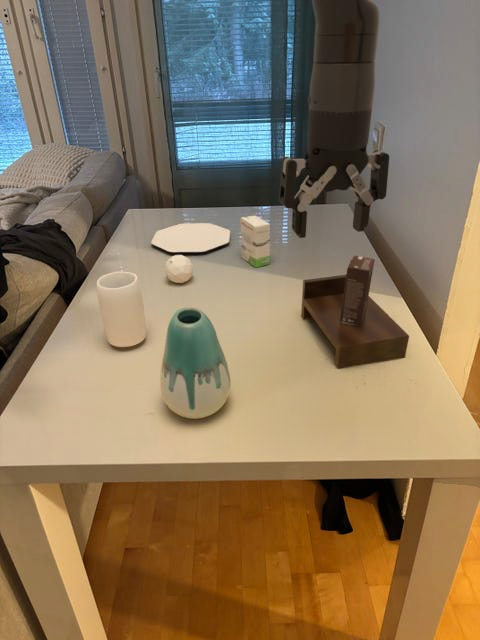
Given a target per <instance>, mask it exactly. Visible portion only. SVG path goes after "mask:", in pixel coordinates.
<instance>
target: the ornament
mask: <svg viewBox="0 0 480 640" xmlns="http://www.w3.org/2000/svg"><path fill="white" fill-rule="evenodd" d="M164 273H165V275H166V277H167V279H168V280H169V281H171V282H173V283H175V284H183V283H185V282H187V281H189V280H190V278H191V277H192V275H193V273H194V266H193V264H192V261H191V259H190V258H188V257H187V256H184V255H183V254H175V255H172V256H171V257H169V258H168V259H167V261H166V262H165V265H164Z"/></svg>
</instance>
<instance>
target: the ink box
mask: <svg viewBox="0 0 480 640" xmlns="http://www.w3.org/2000/svg"><path fill="white" fill-rule="evenodd" d="M240 242H241V243H240V245H241V247H240V251H241V253H240V255H241V258H242V259H243V260H245V262H247V263H248V264H250V265H251V266H252V267H254V268H259V267H260V268H261V267H265V266H267V265H271V223H269V222H267V221H266V220H264V219H263V218H261V217H259V216H258V215H249V216H248V215H247V216H242V217H240Z"/></svg>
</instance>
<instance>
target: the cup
mask: <svg viewBox="0 0 480 640" xmlns="http://www.w3.org/2000/svg"><path fill="white" fill-rule="evenodd" d="M96 292H97V300H98V306H99V311H100V316H101V321H102V324H103V328H104V331H105V332H104V333H105V335H106V338H107V342H108V344H110V345H112V346H114V347H118V348H126V347H132V346H136V345H138V344H140V343H142V342H143V341H144V340H145V339H146V337H147V324H146V314H145V307H144V299H143V293H142V289H141V285H140V281H139V277H138V276H137V274H135V273H133V272H130V271H113V272H110V273H106V274H103V275H102V276H100V277H98V279H97V280H96Z"/></svg>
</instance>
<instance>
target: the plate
mask: <svg viewBox="0 0 480 640" xmlns="http://www.w3.org/2000/svg"><path fill="white" fill-rule="evenodd" d="M153 235H154V236H153V238H152V239H151V241H150V244H151V245H152V246H154V247H156V248H158V249H160V250H163V251H164V252H167V253H170V254H197V253H199V254H200V253H201V254H203V253H208V252H209V251H212V250H215V249H217V248H220V247H222V246H226V245H228V244H229V243H230V239H231V230H230V229H228V228H225V227H223V226H219V225H216V224H213V223H209V222H203V223H200V222H199V223H198V222H197V223H194V222H192V223H191V222H190V223H178V224H175V225H172V226H169V227H166V228H162V229H159V230H156V232H155V233H154V234H153Z"/></svg>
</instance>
